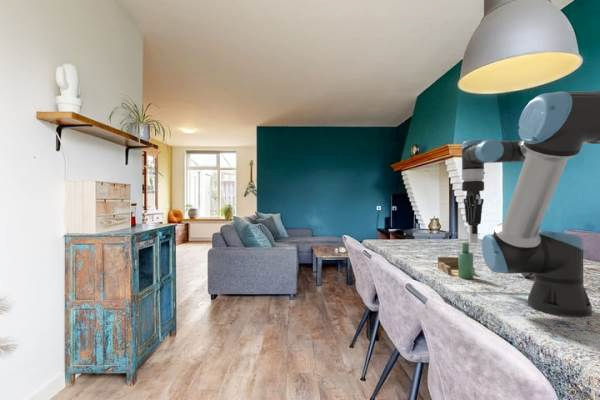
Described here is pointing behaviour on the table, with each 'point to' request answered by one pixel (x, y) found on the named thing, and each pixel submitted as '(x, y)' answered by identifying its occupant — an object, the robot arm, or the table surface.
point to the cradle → (451, 267)
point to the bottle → (465, 262)
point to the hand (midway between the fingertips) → (473, 242)
